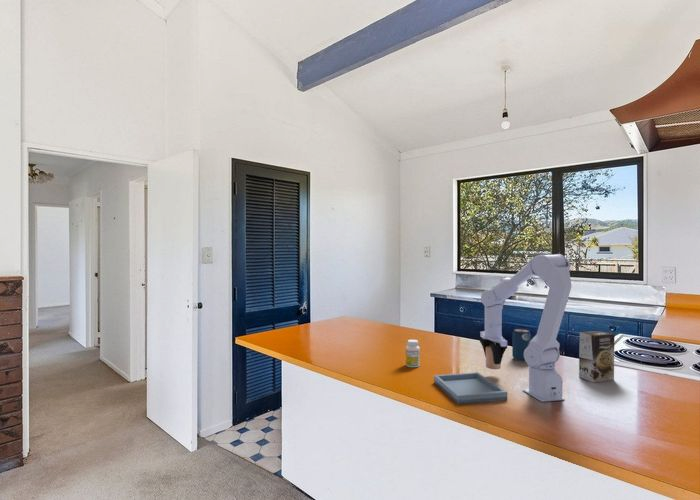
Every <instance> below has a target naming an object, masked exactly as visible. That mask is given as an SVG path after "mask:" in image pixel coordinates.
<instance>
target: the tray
mask: <svg viewBox="0 0 700 500" xmlns="http://www.w3.org/2000/svg"><path fill="white" fill-rule="evenodd" d="M433 382H434V384H435V385H436V386H438V388H439V389H440V390H442V391H443V392H444V394H446V395H447V396H448V397H449V398H451V400H452V401H454V402H455V403H456V404H457V405H462V404H463V405H464V404H475V403H488V402H498V401H499V402H500V401H508V391H507V390H505V389H504V388H503V387H500V386H499V385H498V384H497V383H494V382H493V381H492V380H490V379H489V378H487V377H485V376H484V375H483V374H481V373H480V372H478V371H477V372H464V373H448V374H437V375H436V374H434V376H433Z"/></svg>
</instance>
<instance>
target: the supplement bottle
mask: <svg viewBox="0 0 700 500" xmlns="http://www.w3.org/2000/svg"><path fill="white" fill-rule="evenodd" d="M405 365H406V367H408V368H419V367H420V366H421V348H420V346H419V340H418V339H408V340H407V345H406V346H405Z"/></svg>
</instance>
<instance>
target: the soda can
mask: <svg viewBox="0 0 700 500" xmlns="http://www.w3.org/2000/svg"><path fill="white" fill-rule="evenodd" d="M531 340H532V335H531V332H530V330H529V329H526V328H514V329H513V332H512V340H511V341H512V342H511V343H512V344H511V345H512V349H511V350H512V351H511V353H512V358H513V359H514V360H515V361H517V362H525V363H527V362H526V361H525V359H524V350H525V349H526V348H527V347H528V345H529V343H530V341H531Z"/></svg>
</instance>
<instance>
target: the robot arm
mask: <svg viewBox="0 0 700 500" xmlns="http://www.w3.org/2000/svg"><path fill="white" fill-rule="evenodd" d="M571 266H572V264H571V263H570V262H569V260H568V259H567V258H566V256H564V255H563V254H561V253H555V254H537V255H535V256H534V257H533V258H531V259H529V260H528V262H527V263H526V264H525V265H524V266H523V267H521V269H519V271H517V272H516V273H515V274H514V275H513V276H512V277H503V278H501V279H500V280H499V282H498V283H497V284H495V285H493V286H491V289H490V290H489V289H484V290H483V292H482V293H481V295H480V301H481V303H482V304H483V306H484V330H483V331H479V334H480V338H481V339H479V342H480V344H481V347H482V349H483V352H484V353H483V354H484V357H485V358H486V346H491V349H492V352H493V360H494V364H502V360H503V356H504V355H505V352H506V350H507V349H508V340H506V339H505V338H504V337H503V334H502V332H503V331H502V329H503V327H502V326H503V325H502V322H503V319H502V318H503V316H502V313H503V309H504V305H505V303H506V300H507V299H508V298H510V297H511V296H513V295H515V294H516V293H517V292H518V291H519V286H520V285H522V284H523V283H525V282H527V281H528V280H530V279H532V278H533V277H535V276H537V277H539V278H540V280H542V282H544V283H545V284H546V285H547V287H548V292H547V295H546V299H545V300H546V301H545V304H544V306H543V309H542V310H543V311H542V313H541V318H540V320H539V321H540V322H539V324H538V328H537V332H536V334H535V335H534V336H533V337H532V338H531V341H530V343H529V345H528V347H527V348H526V349H525V350H524V359H525V361H526V362H525V363H527V367H528V387H525V388H522V391H523V392H525V393H526V394H528V395H530V396H532V397H533V398H535V399H536V400H538V401H539V402H542V403H544V402H553V401H565V397H564V396H563V378H562V376H561V375H560V374H559V373H558V372H557V370H556V368H555V366H556V363H557V362H558V361H559V360H560V355H561V353H560V347H561V346H560V345H561V344H560V342H558V340H557V337H558V333H559V331H560V328H561V324H562V320H563V317H564V313H565V311H566V307H567V304H568V300H569V297H570V294H571V290H572V279H571V273H570V269H571Z"/></svg>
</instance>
